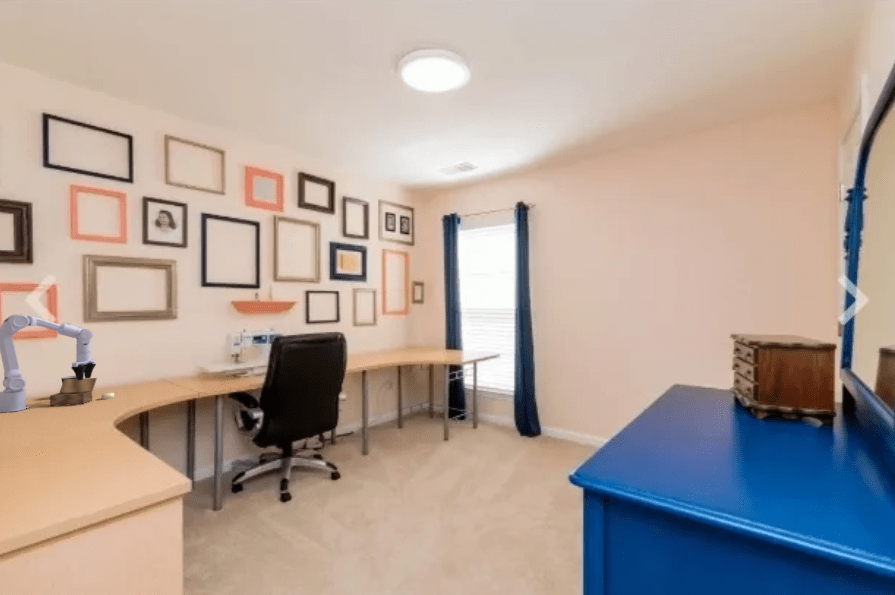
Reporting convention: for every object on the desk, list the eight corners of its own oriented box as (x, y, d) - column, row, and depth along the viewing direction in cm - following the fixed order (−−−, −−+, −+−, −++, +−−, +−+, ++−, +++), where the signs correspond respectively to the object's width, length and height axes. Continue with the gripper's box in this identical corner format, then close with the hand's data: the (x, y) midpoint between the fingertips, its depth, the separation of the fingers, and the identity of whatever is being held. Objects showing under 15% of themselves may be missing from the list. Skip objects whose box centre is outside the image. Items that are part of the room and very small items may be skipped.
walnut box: (50, 406, 202) (50, 395, 202) (59, 402, 209) (59, 392, 209) (83, 404, 205) (83, 393, 205) (92, 401, 211) (91, 391, 211)
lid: (64, 379, 212) (64, 379, 213) (59, 392, 209) (60, 392, 209) (96, 377, 215) (96, 378, 215) (92, 390, 211) (92, 391, 212)
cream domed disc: (98, 400, 214) (98, 395, 215) (105, 397, 220) (105, 393, 220) (110, 399, 215) (110, 394, 215) (116, 397, 221) (116, 392, 221)
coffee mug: (65, 395, 228) (65, 376, 228) (85, 393, 231) (85, 374, 231) (56, 399, 217) (56, 379, 217) (77, 397, 221) (77, 378, 221)
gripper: (83, 353, 210) (83, 381, 210) (101, 350, 224) (101, 376, 224) (66, 354, 209) (67, 381, 208) (86, 351, 223) (86, 376, 223)
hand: (84, 379), depth 216 cm, fingers open, 5 cm apart
